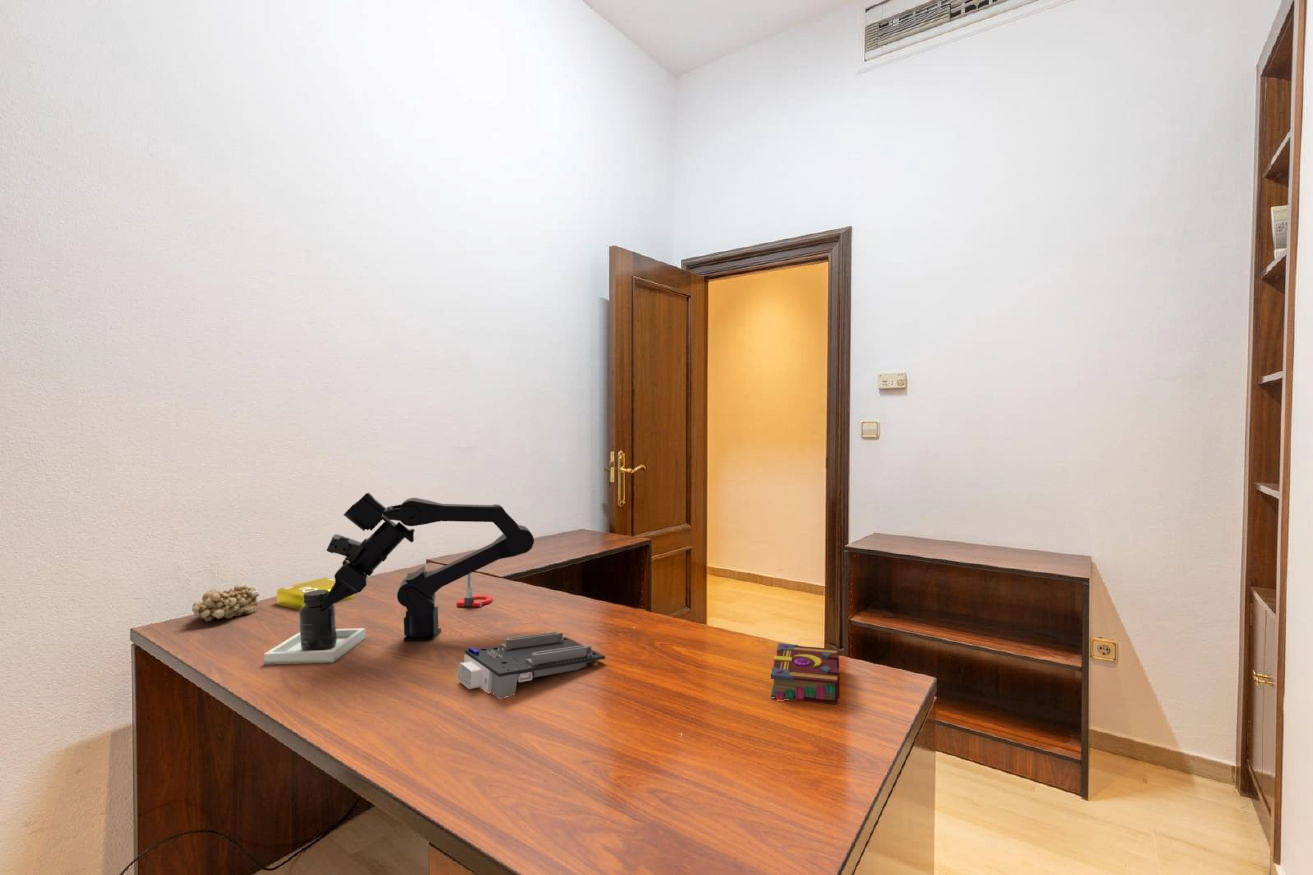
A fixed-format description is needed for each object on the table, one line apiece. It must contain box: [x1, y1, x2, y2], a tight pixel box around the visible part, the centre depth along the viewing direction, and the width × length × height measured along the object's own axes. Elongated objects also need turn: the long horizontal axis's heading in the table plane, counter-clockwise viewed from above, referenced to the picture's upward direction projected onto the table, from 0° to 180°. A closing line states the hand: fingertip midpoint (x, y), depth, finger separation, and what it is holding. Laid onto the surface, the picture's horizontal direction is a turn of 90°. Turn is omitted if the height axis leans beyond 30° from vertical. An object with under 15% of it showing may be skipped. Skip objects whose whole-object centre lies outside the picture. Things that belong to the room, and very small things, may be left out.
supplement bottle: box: [298, 590, 337, 651], centre depth 129 cm, size 7×7×12 cm
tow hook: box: [456, 573, 494, 609], centre depth 162 cm, size 8×13×9 cm
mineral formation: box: [192, 583, 261, 622], centre depth 153 cm, size 8×13×15 cm
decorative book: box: [770, 642, 841, 705], centre depth 107 cm, size 11×16×5 cm
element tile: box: [276, 577, 356, 611], centre depth 168 cm, size 15×15×5 cm
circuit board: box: [456, 631, 606, 700], centre depth 116 cm, size 25×7×15 cm
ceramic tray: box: [263, 627, 366, 666], centre depth 129 cm, size 14×14×2 cm
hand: (326, 600), depth 130 cm, fingers open, 9 cm apart
